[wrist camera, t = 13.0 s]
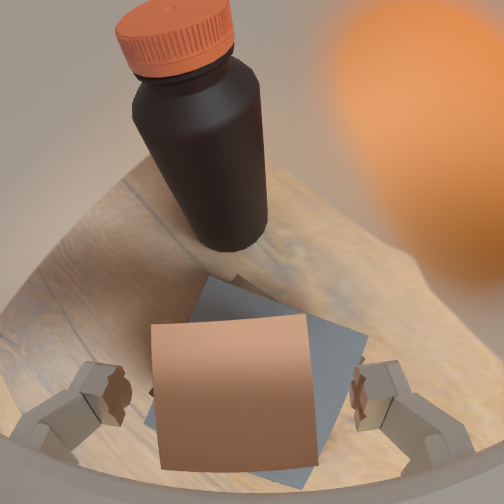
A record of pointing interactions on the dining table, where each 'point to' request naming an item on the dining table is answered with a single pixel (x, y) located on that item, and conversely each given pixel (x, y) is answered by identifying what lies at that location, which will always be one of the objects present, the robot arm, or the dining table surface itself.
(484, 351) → the dining table surface
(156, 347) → the terracotta block
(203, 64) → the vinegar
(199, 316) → the tower top block
